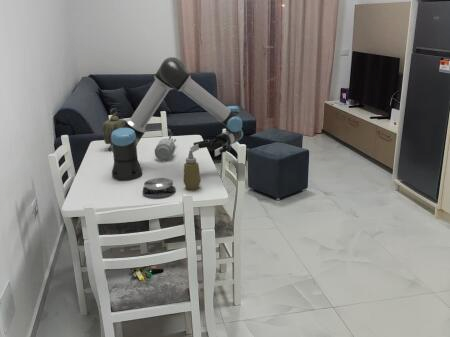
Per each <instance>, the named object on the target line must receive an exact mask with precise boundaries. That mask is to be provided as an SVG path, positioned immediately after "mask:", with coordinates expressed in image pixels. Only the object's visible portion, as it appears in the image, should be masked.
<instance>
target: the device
mask: <svg viewBox="0 0 450 337" xmlns="http://www.w3.org/2000/svg"><path fill="white" fill-rule="evenodd" d="M176 141H177V139H176V138H172V135H171V134H169V137H168V138H162V139H161V140H159V142H158V143H157V144H156V147H155V148H154V155H155V157H156V158H157V160H160V161H161V162H165V161H166V162H167V161H168V160H170V159H171V158H172V157H173V155H174V153H175V150H176V144H175V142H176Z"/></svg>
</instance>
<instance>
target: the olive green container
mask: <svg viewBox="0 0 450 337" xmlns="http://www.w3.org/2000/svg"><path fill="white" fill-rule="evenodd" d="M113 110H115V112H113ZM112 112H113V113H112ZM117 112H118V110H117V108H116V107H114V108H111V109H110V112H109V114H110V115H111V117H110V119H108V120H106V121H104V122H103V123H102V133H103V134H102V136H103V140H104V144H106V145H110V146H109V147H108V149H107V151H112V150H111V149H112V141H111V134H112V132H113V131H114V130H117V129H119V128H121V127H122V125H123V124H124V122H125V121H126V119H122V118H119V117H118V116H117Z"/></svg>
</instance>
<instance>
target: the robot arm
mask: <svg viewBox="0 0 450 337" xmlns="http://www.w3.org/2000/svg"><path fill="white" fill-rule="evenodd" d="M191 76H192V75H191V74H189V73H188V72H187V71H186V70H185V65H184V64H183V62H182V61H181V60H180V59H179V58H177V57H171V56H170V57H168V58H165V59H164V60H163V61H162V62H161V64H160V66H159V68H158V69H157V71H156V73H155V74H154V75H153V78H154V81H153V83H152V85H151V86H150V88H148V90H147V92H146V93H145V95H144V97H143V98H142V100H141V101H140V103H139V105H138V107H136V109H135V111H134V112H133V113H132V116H131V117H130V118H126V119H125V122H124V124H123V125H122V127H121V128H119V129H117V130H114V131H113V132H112V134H111V141H112V146H111V149H112V154H113V165H112V166H113V167H112V170H111V177H112V179H114V180H116V181H129V180H135V179H138V178H141V176H143V169H142V167H141V164H140V162H139V160H138V149H137V146H138V144H139V142H140V140H141V139H142V138H143V137H144V134H146V127H147V125H148V124H149V122H150V121H151V119H152V117H153V116H154V115H155V112H156V111H157V110H158V109H159V107H160V105H161V103H162V102H163V100H164V99H165V98H166V96H167V94H168V93H169V92H170V91H171V90H176V91H177V92H182V93H183V94H185V95H186V96H187V97H188V98H190V99H191V100H192V101H194V102H195V104H197V105H198V106H200V107H201V108H203V109H204V110H205V111H206V112H207V113H209V114H210V115H212V116H213V117H214V118H215V119H217V120H218V121H219V122H221V123H222V124H223V125H224V126H225V131H224V132H222V133H220V134H217V135H216V136H215V138H214V139H211V140H210V138H208V139H205V140H201V141H196V142H193V146H190V148H189V151H192V153H194V152H197V151H198V150H200V149H205V148H210V149H211V148H212V149H213V148H216V149H215V150H214V157H217V156H219V155H220V154H223V153H226V152H227V153H230V152H231V148H232V145H233V144H235V143H238V142H239V141H240V140H241V139H243V136H244V132H243V130H242V128H243V119H242V118H241V116H240V107H239V106H238V105H229V106H226V105H225V104H223V103H222V102H221V101H220V100H218V99H217V98H216V97H214V95H212V94H211V93H209V92H208V91H207V90H206V89H205V88H203V87H202V85H199V83H197V82H196V81H195V80H193V79H192V78H191Z"/></svg>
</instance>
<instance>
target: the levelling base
mask: <svg viewBox="0 0 450 337" xmlns="http://www.w3.org/2000/svg"><path fill="white" fill-rule="evenodd" d="M174 194H176V187H175V186H174V181H173V180H172V179H170V178H168V177H155V178H151V179H147V180H146V181H145V182H144V184H143V188H142V195H143V197H145V198H147V199H156V200H157V199H165V198H169V197H171V196H173V195H174Z"/></svg>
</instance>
